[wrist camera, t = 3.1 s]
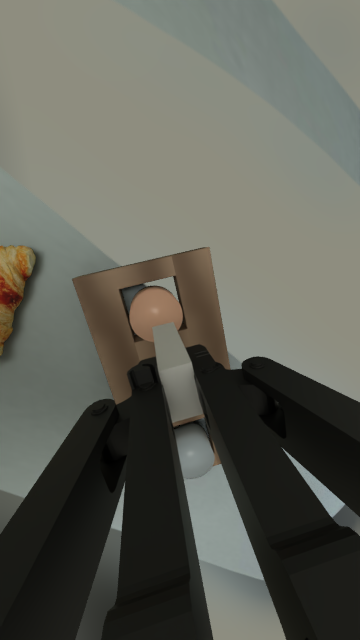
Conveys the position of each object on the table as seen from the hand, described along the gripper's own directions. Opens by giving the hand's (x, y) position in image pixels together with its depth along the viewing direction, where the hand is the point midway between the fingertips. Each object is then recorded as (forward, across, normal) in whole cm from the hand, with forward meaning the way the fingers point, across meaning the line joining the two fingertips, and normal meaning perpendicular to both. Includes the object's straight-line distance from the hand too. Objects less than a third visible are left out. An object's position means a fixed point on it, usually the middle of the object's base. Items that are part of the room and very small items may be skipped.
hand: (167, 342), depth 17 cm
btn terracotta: (+10, 0, 0) cm, 10 cm away
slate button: (+10, 0, -18) cm, 20 cm away
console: (+12, 0, -9) cm, 15 cm away
